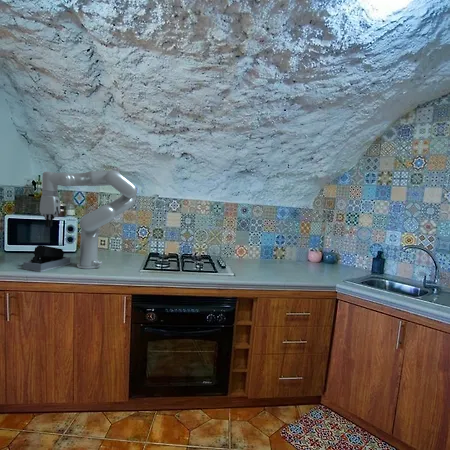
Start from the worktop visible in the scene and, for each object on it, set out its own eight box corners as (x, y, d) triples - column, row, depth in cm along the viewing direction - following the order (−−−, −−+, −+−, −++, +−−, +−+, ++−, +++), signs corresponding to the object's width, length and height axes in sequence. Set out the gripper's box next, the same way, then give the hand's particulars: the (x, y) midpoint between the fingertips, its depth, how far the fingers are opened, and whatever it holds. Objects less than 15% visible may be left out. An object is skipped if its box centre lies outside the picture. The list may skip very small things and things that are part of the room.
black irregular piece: (26, 261, 172) (31, 243, 173) (51, 264, 189) (55, 248, 191) (37, 263, 170) (42, 245, 172) (61, 266, 187) (65, 249, 189)
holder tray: (70, 264, 191) (70, 257, 190) (40, 271, 169) (40, 264, 169) (54, 261, 193) (54, 255, 193) (23, 269, 172) (23, 262, 171)
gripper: (66, 195, 180) (65, 227, 181) (43, 193, 183) (43, 224, 185) (56, 194, 172) (55, 228, 174) (33, 193, 176) (32, 225, 177)
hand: (49, 226), depth 179 cm, fingers closed
